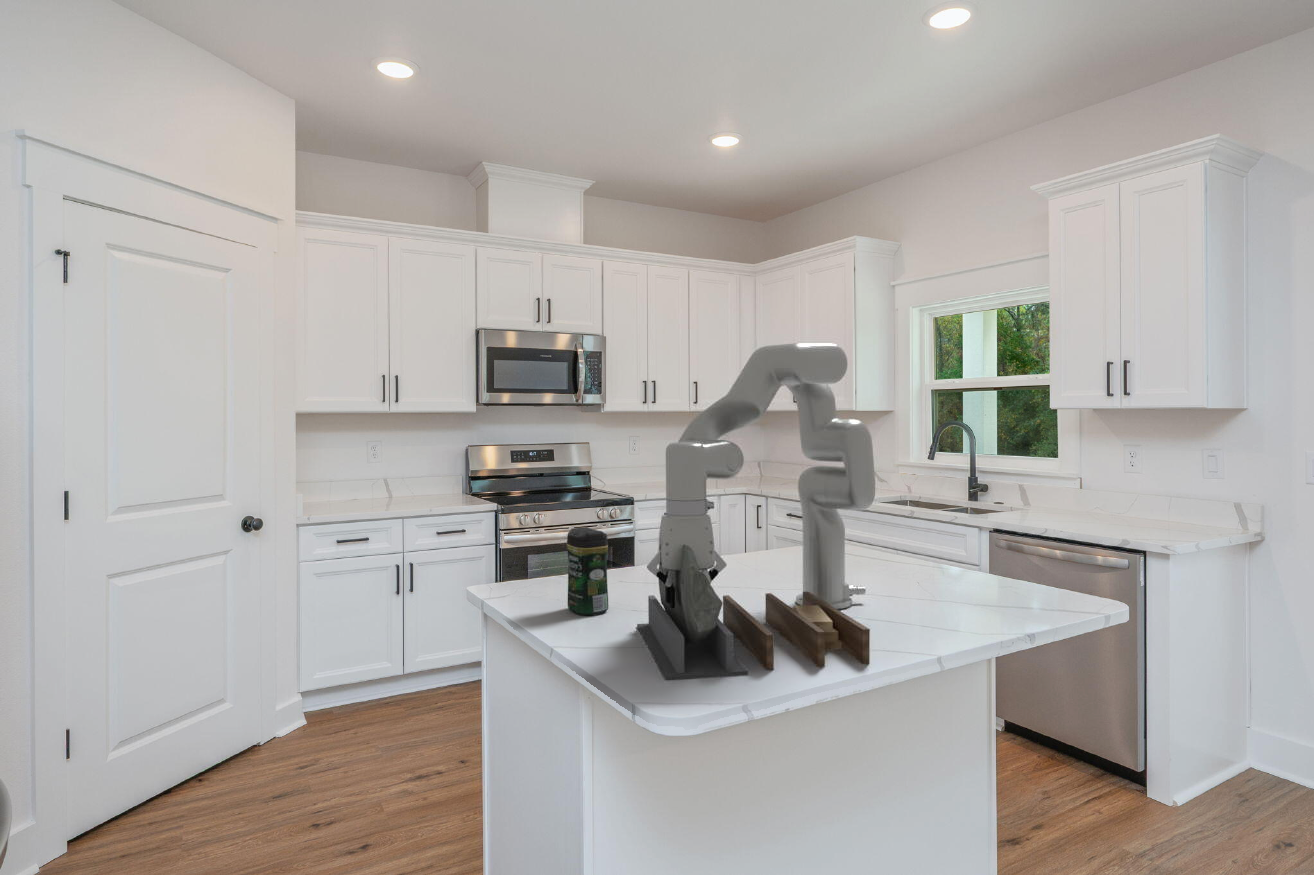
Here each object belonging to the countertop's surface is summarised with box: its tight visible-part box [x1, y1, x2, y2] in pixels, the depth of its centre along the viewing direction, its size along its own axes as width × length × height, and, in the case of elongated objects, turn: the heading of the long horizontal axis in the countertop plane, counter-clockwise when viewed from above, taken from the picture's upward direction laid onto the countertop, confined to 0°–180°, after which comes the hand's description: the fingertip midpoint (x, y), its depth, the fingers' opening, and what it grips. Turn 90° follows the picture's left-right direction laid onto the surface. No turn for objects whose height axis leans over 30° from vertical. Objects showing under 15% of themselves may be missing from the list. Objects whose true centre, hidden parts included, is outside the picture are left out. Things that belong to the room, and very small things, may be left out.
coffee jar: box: [566, 526, 609, 616], centre depth 168 cm, size 10×8×19 cm
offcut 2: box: [825, 628, 838, 643], centre depth 144 cm, size 5×12×2 cm, turn 11°
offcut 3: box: [825, 640, 843, 651], centre depth 144 cm, size 5×12×2 cm, turn 16°
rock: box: [658, 545, 723, 644], centre depth 140 cm, size 27×6×20 cm, turn 17°
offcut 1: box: [793, 605, 833, 632], centre depth 144 cm, size 5×12×2 cm, turn 0°
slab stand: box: [636, 594, 749, 681], centre depth 140 cm, size 14×32×7 cm, turn 10°
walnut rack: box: [722, 591, 871, 671], centre depth 143 cm, size 19×29×6 cm, turn 10°
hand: (687, 604), depth 140 cm, fingers closed on rock, 5 cm apart
